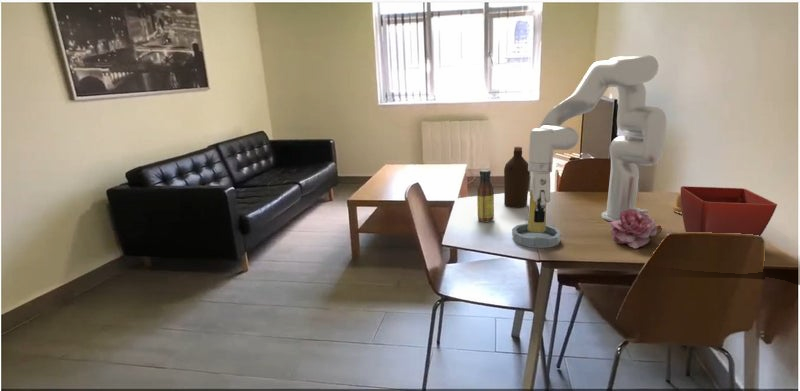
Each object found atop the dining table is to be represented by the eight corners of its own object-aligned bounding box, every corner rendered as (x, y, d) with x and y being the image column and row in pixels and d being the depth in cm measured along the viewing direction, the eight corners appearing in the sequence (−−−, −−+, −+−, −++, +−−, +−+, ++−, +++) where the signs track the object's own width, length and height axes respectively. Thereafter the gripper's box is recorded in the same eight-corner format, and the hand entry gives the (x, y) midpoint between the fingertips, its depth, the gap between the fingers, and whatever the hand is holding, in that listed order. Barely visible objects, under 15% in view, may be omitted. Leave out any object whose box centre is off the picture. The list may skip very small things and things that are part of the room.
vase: (546, 233, 145) (549, 191, 141) (527, 232, 146) (529, 191, 142) (544, 227, 150) (547, 187, 146) (526, 226, 151) (528, 186, 148)
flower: (599, 224, 153) (609, 200, 148) (642, 229, 152) (654, 206, 147) (611, 251, 141) (622, 227, 135) (658, 257, 140) (671, 233, 134)
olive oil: (528, 209, 181) (532, 149, 174) (502, 208, 184) (504, 149, 177) (527, 201, 191) (530, 145, 184) (503, 200, 193) (505, 145, 187)
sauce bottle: (495, 218, 171) (497, 169, 165) (491, 223, 165) (493, 172, 160) (479, 216, 174) (480, 168, 168) (474, 221, 168) (475, 171, 163)
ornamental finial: (670, 213, 171) (674, 208, 176) (693, 216, 166) (696, 212, 172) (673, 193, 169) (677, 189, 174) (696, 196, 164) (699, 192, 169)
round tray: (553, 231, 156) (553, 223, 155) (565, 248, 141) (565, 239, 140) (509, 231, 157) (509, 223, 156) (516, 247, 142) (517, 239, 141)
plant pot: (735, 235, 147) (744, 187, 142) (767, 258, 129) (779, 204, 125) (672, 232, 151) (679, 185, 147) (695, 254, 133) (703, 202, 129)
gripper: (559, 172, 133) (554, 227, 138) (545, 161, 150) (542, 211, 155) (534, 172, 134) (530, 227, 139) (523, 161, 151) (520, 211, 156)
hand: (536, 218), depth 147 cm, fingers closed on vase, 5 cm apart
